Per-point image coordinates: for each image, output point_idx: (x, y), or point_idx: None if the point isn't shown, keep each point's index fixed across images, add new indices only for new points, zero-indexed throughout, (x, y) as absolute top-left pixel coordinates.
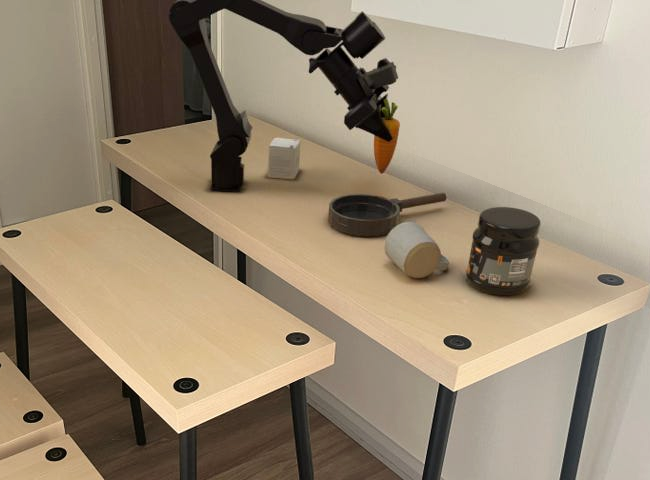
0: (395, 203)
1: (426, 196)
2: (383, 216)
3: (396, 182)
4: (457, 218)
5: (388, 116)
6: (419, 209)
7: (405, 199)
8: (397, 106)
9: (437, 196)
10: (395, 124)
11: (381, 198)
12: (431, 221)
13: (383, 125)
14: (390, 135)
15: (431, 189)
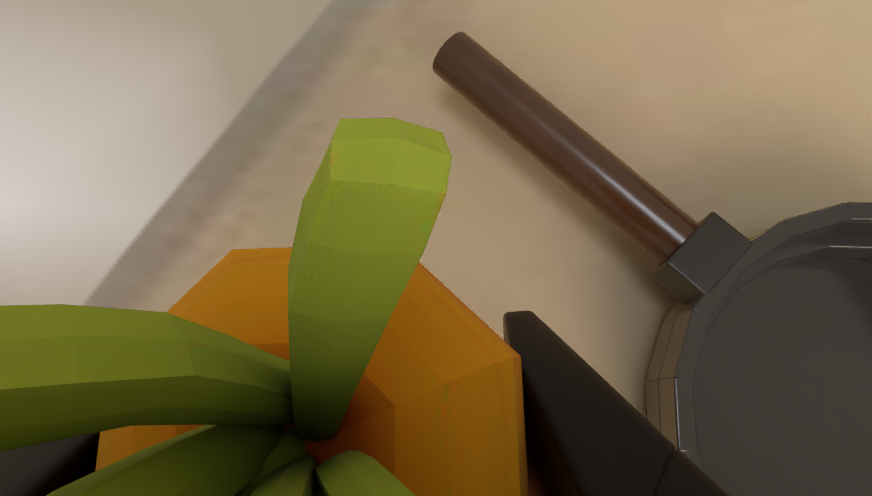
0: (749, 250)
1: (545, 112)
2: (715, 328)
3: None
4: (537, 8)
5: (253, 464)
6: (499, 183)
7: (652, 209)
8: (376, 128)
9: (502, 66)
10: (419, 277)
11: (699, 353)
12: (628, 102)
13: (686, 468)
14: (557, 336)
15: (198, 182)
